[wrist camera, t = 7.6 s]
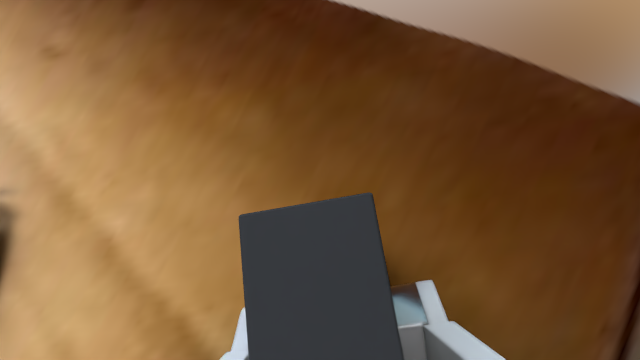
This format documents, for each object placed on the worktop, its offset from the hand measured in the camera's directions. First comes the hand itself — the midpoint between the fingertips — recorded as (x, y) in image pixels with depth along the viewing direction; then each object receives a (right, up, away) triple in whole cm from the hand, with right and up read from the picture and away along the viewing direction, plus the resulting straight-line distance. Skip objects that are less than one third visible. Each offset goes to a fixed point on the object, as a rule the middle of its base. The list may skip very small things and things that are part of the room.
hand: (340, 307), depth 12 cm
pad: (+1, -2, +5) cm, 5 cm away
